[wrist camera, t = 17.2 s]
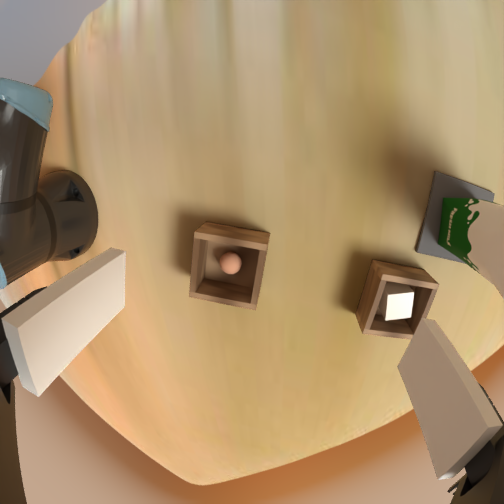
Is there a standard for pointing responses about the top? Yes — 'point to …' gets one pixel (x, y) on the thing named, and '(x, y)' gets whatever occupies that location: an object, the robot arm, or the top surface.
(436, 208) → the coaster
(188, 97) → the top surface
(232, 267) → the ball
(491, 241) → the soya milk
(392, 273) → the crate
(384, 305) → the cube
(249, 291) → the crate
